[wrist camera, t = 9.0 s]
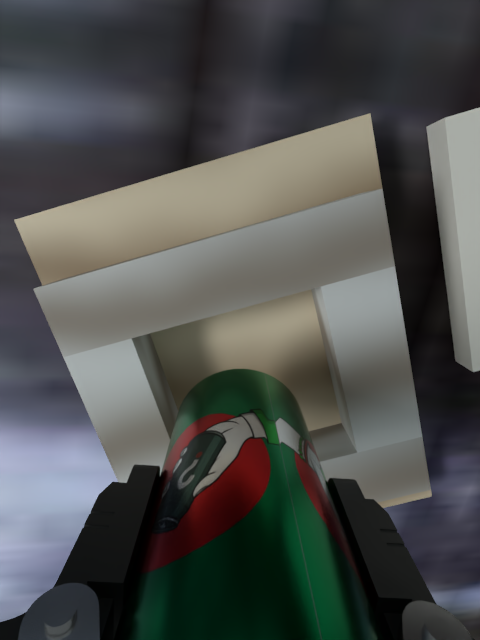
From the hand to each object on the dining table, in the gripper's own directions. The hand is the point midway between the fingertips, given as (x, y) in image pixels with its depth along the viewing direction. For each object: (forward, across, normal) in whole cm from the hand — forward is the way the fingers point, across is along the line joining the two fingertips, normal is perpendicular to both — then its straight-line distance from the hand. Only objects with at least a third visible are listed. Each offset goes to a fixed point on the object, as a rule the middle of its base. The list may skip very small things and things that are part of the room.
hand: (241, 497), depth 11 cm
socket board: (+9, 0, 0) cm, 9 cm away
